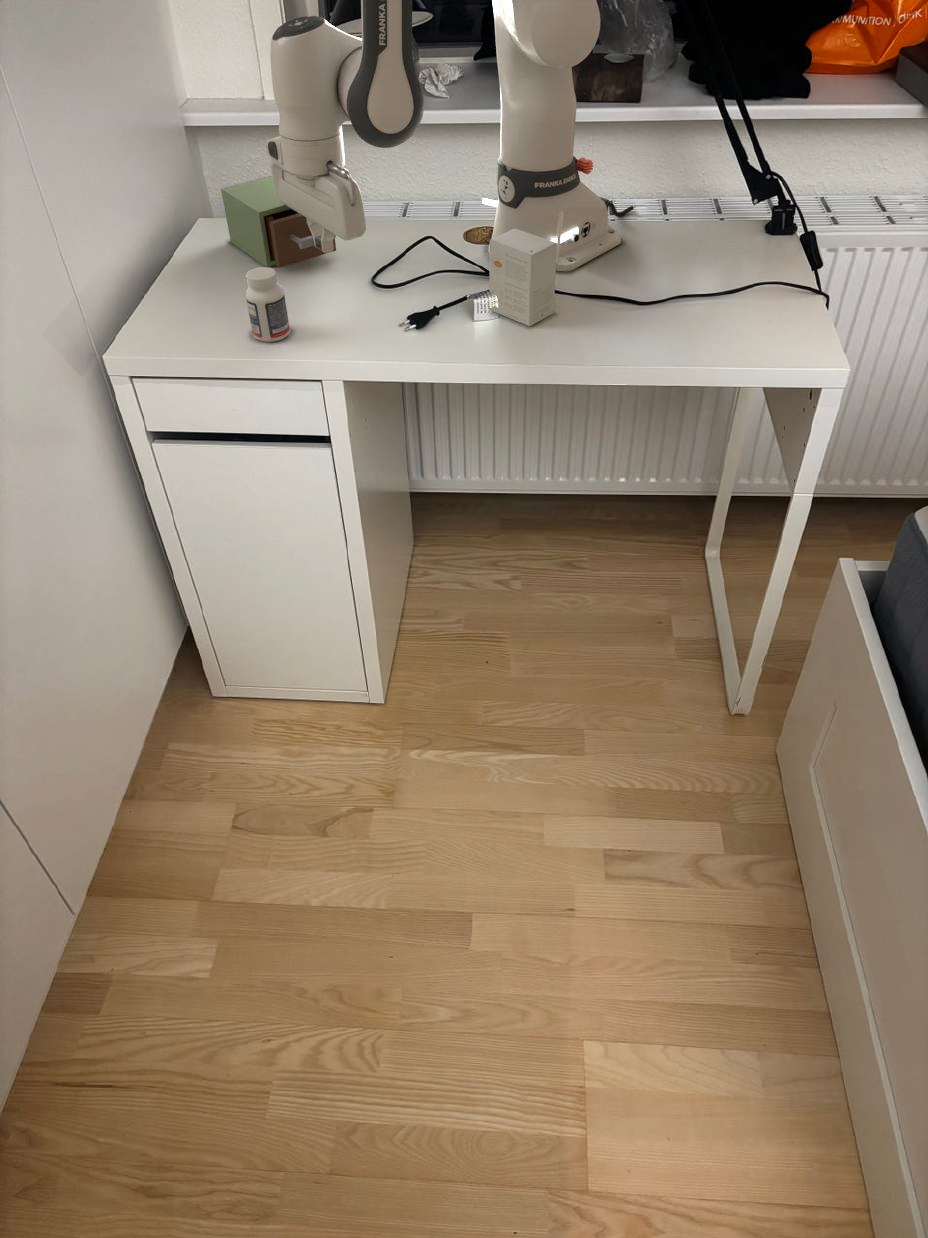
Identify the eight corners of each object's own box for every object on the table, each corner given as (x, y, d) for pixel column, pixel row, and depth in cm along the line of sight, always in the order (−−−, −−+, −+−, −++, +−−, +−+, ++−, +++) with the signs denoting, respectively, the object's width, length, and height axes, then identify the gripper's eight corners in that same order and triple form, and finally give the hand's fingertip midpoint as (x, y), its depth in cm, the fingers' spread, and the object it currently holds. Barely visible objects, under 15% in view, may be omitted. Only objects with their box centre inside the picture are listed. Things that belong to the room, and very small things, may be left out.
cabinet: (329, 248, 151) (323, 194, 145) (267, 267, 146) (258, 212, 140) (291, 224, 158) (283, 171, 152) (230, 241, 153) (220, 188, 147)
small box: (554, 314, 134) (559, 242, 127) (529, 327, 131) (532, 254, 124) (513, 297, 138) (515, 226, 131) (487, 310, 135) (488, 238, 128)
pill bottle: (294, 325, 132) (285, 265, 126) (285, 343, 129) (276, 282, 122) (258, 324, 133) (247, 263, 126) (248, 341, 129) (237, 280, 123)
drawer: (350, 259, 146) (346, 215, 141) (293, 276, 142) (287, 232, 137) (300, 227, 155) (294, 185, 150) (245, 243, 150) (237, 201, 146)
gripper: (372, 167, 126) (379, 266, 136) (296, 130, 138) (307, 223, 147) (333, 178, 123) (343, 278, 133) (259, 139, 135) (273, 233, 145)
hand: (324, 249), depth 140 cm, fingers closed
